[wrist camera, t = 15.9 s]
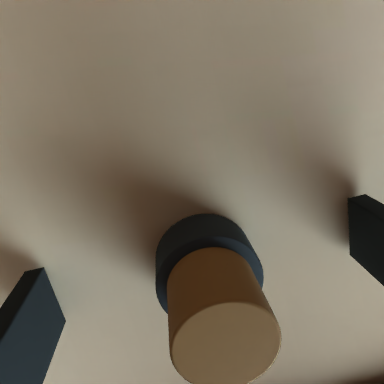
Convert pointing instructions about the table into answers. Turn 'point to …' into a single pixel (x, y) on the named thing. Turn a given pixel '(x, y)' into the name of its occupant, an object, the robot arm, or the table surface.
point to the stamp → (215, 302)
